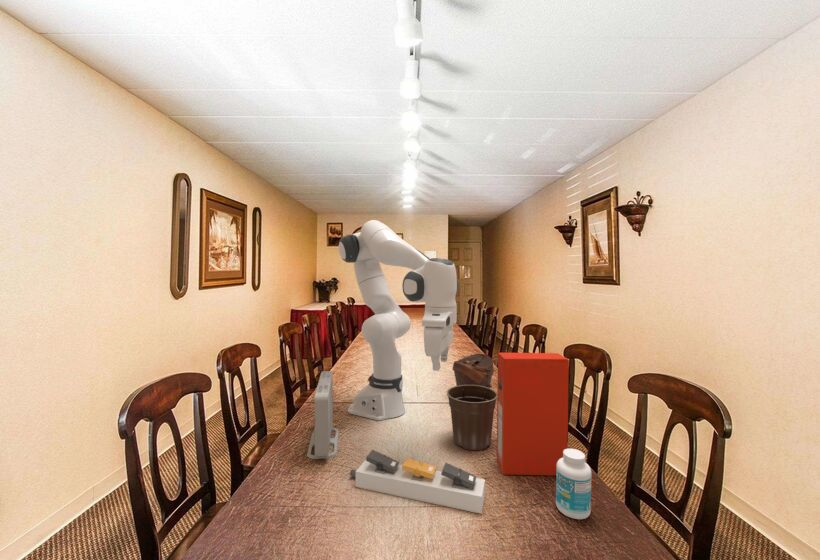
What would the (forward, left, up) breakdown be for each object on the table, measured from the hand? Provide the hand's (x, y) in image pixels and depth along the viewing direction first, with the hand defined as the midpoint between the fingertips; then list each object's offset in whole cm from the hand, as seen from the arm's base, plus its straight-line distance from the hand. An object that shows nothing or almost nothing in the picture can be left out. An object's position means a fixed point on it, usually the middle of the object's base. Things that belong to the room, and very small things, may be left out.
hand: (440, 365), depth 99 cm
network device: (-39, +2, -29) cm, 49 cm away
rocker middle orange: (-3, -12, -24) cm, 27 cm away
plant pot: (+6, +18, -29) cm, 35 cm away
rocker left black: (-13, -12, -24) cm, 29 cm away
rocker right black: (+7, -12, -24) cm, 27 cm away
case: (+1, +58, -29) cm, 65 cm away
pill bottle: (+34, -7, -29) cm, 45 cm away
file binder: (+24, +8, -29) cm, 39 cm away
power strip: (-4, -12, -29) cm, 32 cm away
